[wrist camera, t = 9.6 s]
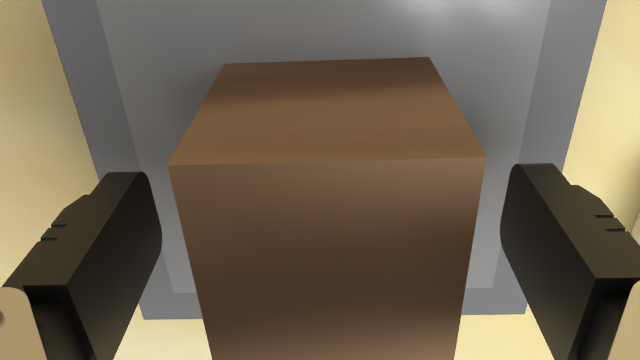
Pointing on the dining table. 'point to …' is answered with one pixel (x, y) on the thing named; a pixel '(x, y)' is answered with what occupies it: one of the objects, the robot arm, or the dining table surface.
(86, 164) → the dining table surface
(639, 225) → the cream block
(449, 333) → the walnut block
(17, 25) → the dining table surface
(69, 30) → the plate
